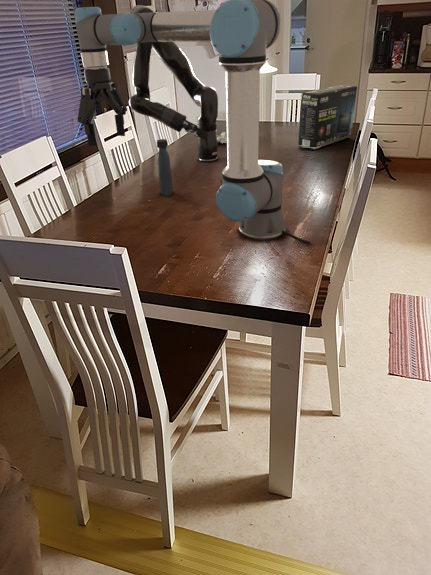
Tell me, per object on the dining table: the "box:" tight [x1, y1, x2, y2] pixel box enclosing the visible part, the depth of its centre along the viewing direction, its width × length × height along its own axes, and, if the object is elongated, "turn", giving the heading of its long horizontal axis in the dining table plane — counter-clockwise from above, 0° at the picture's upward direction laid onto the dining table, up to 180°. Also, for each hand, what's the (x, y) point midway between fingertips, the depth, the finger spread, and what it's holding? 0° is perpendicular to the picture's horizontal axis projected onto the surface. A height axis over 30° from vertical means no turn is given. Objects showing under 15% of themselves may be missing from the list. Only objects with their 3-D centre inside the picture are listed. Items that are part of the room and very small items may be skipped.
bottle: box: [156, 147, 174, 197], centre depth 180 cm, size 5×5×21 cm
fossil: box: [217, 129, 227, 145], centre depth 253 cm, size 18×11×15 cm
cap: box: [156, 138, 169, 149], centre depth 175 cm, size 4×4×2 cm
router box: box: [297, 84, 358, 151], centre depth 238 cm, size 36×11×27 cm, turn 134°
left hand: (206, 136), depth 201 cm, fingers open, 8 cm apart
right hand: (107, 140), depth 148 cm, fingers open, 13 cm apart
